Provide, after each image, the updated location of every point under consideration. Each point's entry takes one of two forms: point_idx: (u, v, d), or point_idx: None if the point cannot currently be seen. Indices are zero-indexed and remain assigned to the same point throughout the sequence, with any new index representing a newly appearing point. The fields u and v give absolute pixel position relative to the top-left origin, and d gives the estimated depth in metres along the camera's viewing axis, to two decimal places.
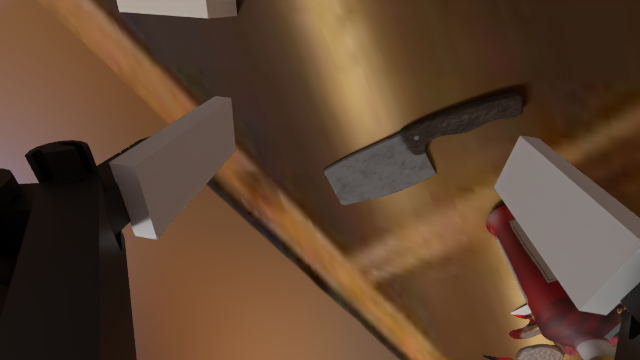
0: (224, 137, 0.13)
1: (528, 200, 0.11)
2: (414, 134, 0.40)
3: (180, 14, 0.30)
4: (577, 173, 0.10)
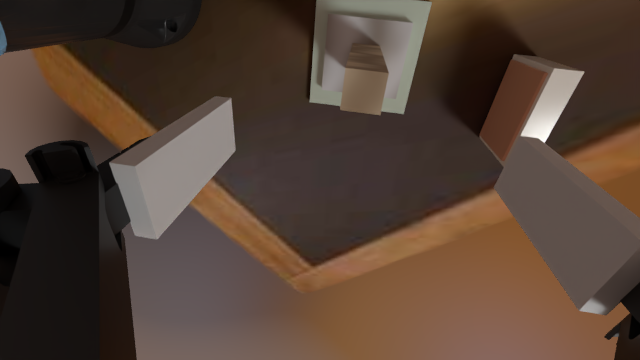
0: (224, 137, 0.13)
1: (528, 200, 0.11)
2: None
3: (563, 105, 0.26)
4: (577, 173, 0.10)
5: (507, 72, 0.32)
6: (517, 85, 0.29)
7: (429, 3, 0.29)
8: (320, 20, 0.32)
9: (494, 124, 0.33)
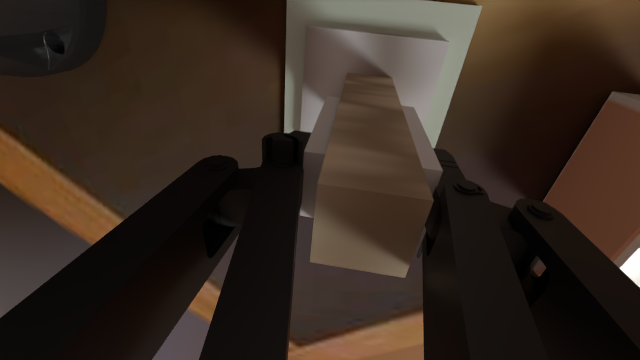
0: None
1: None
2: None
3: None
4: (419, 129, 0.12)
5: (600, 120, 0.19)
6: (629, 149, 0.17)
7: (478, 8, 0.17)
8: (294, 36, 0.19)
9: (574, 201, 0.21)
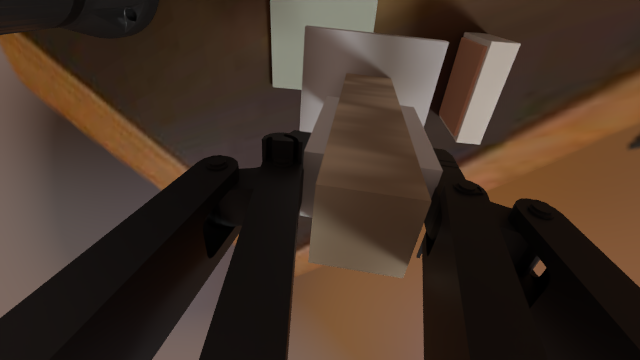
0: None
1: None
2: None
3: (504, 78, 0.27)
4: (419, 129, 0.12)
5: (459, 50, 0.33)
6: (465, 61, 0.30)
7: None
8: (275, 5, 0.32)
9: (449, 101, 0.34)
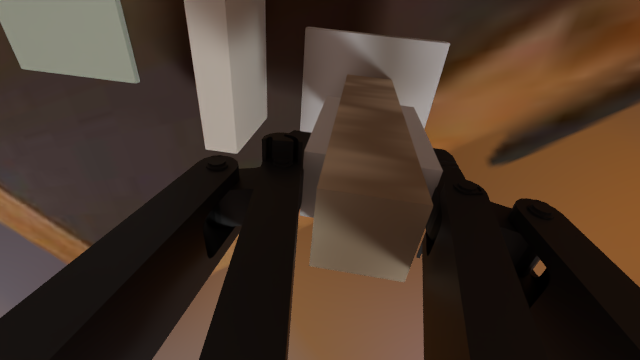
0: None
1: None
2: None
3: (226, 55, 0.18)
4: (419, 129, 0.12)
5: None
6: None
7: None
8: None
9: None
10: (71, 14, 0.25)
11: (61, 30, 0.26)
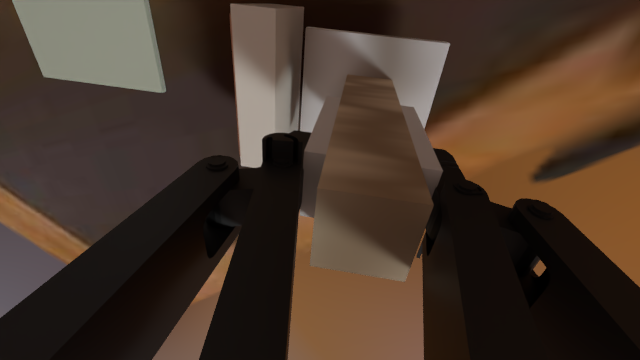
0: None
1: None
2: None
3: (272, 68, 0.17)
4: (419, 129, 0.12)
5: None
6: None
7: None
8: None
9: None
10: (98, 21, 0.24)
11: (87, 38, 0.25)
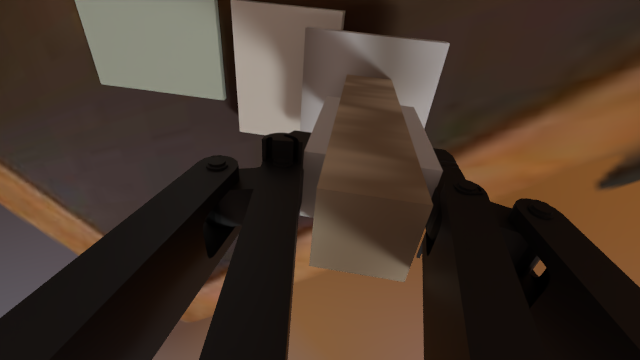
0: None
1: None
2: None
3: None
4: (419, 129, 0.12)
5: None
6: None
7: None
8: None
9: None
10: (165, 28, 0.24)
11: (151, 45, 0.24)
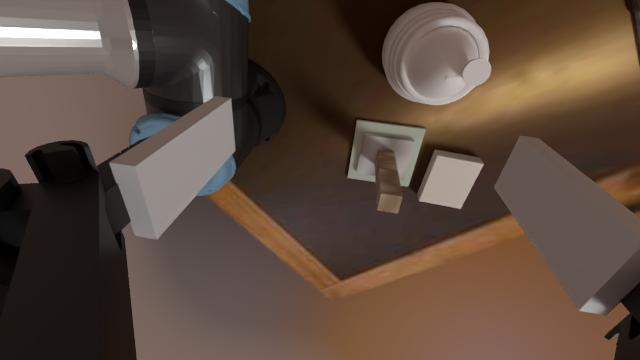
0: (224, 137, 0.13)
1: (528, 200, 0.11)
2: None
3: (431, 169, 0.51)
4: (577, 173, 0.10)
5: None
6: None
7: (424, 130, 0.49)
8: (357, 135, 0.52)
9: None
10: None
11: None
